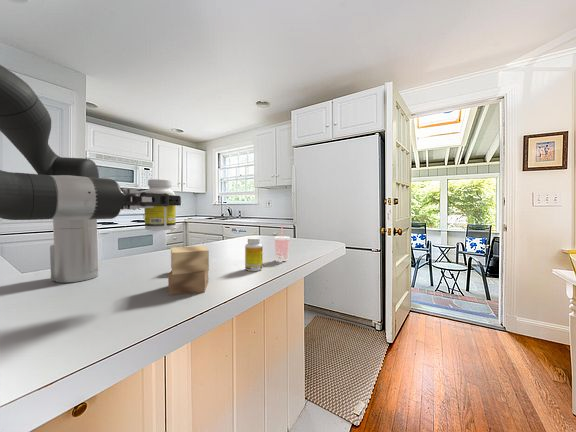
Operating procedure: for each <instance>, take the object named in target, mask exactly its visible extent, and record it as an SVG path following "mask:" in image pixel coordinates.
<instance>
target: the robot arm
mask: <svg viewBox="0 0 576 432" xmlns="http://www.w3.org/2000/svg"><path fill="white" fill-rule="evenodd" d="M51 130H52V117H51V115H50V113H49V111H48V109H47V108H46V106H45V105H44V103H43V102H42V101H41V99H40V98H39V97H38V96H37V94H36V93H35V91H34V90H33V88H32V87H31V86H30V85H29V84H28V83H27V82H26V81H24V80H23V79H22V78H20V77H19V76H18V75H16V74H15V73H14V72H13V71H10V70H9V69H8V68H6V67H4V66H3V65H1V64H0V133H2V134H3V135H4V136H5V137H6V138H7V139H8V140H9V142H10V143H11V144H12V145H13V146H14V147H15V148H16V149H17V150H18V151H19V152H20V154H21V155H22V156H23V157H24V158H25V159H26V161H27V162H28V163H29V165H30V166H31V167H32V168H33V170H34V171H35V173H25V172H10V171H5V170H1V169H0V219H2V220H7V221H8V220H10V221H35V220H36V221H38V220H41V221H43V220H44V221H45V220H52V225H53V226H52V227H53V228H52V229H53V230H52V231H53V244H51V245H50V246H49V256H50V257H49V259H50V262H49V263H50V281H51V282H53V281H54V282H56V283H62V284H63V283H74V282H77V283H78V282H82V281H87V280H91V279H94V278H96V277H98V276H99V253H98V220H112V219H115V218H117V217H118V216H119V214H120V212H121V210H138V209H145V208H153V207H154V206H162V207H167V206H169V205H171V206H175V207H176V206H179V207H180V206H181V205H182V197H181V196H180V195H175V196H174V195H169V194H167V193H164V194H156V193H153V192H151V191H147V190H145V191H144V190H137V189H133V188H132V189H128V188H127V189H121V186H120V184H119V183H118V182H117V181H116V180H115V179H112V178H101V177H100V175H99V169H98V167H97V164H96V163H95V161H93V159H90V158H83V157H64V156H63V157H61V156H59V155H58V154H56V153H55V152H54V150H53V149H52V148H51V146H50V145H49V140H50V139H49V138H50V134H51ZM159 197H160V202H159Z"/></svg>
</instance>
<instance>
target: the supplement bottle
mask: <svg viewBox="0 0 576 432" xmlns="http://www.w3.org/2000/svg"><path fill="white" fill-rule="evenodd" d="M263 249H264V248H263V244H262V243H261V238H260V237H248V238H247V243H246V244H245V246H244V266H245V267H244V268H245V270H246V271H247V270H248V271H247V272H259V271H262V269H263Z"/></svg>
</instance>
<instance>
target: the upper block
mask: <svg viewBox="0 0 576 432" xmlns="http://www.w3.org/2000/svg"><path fill="white" fill-rule="evenodd" d="M209 256H210V255H209V249H208V248H207V247H206V246H205V245H194V246H193V245H191V246H185V247H183V246H179V247H178V246H177V247H176V246H175V247H170V268H171V271H172V275H175V274H184V273H194V272H203V271H208V272H209V271H210V268H209V267H210V263H209V262H210V261H209V260H210V259H209Z"/></svg>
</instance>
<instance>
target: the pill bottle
mask: <svg viewBox="0 0 576 432" xmlns="http://www.w3.org/2000/svg"><path fill="white" fill-rule="evenodd" d="M172 184H173V183H172V180H169V179H156V178H155V179H153V178H151V179H147V186H148V187H149V188H148V189H147V190H146V191H151V192H153V193H156V194H164V193H167V194H169V195H174V196H176V193H175V192H174V190H172V189H171V188H172ZM159 202H160V197H159ZM144 229H145V230H146V231H172V230H174V229H176V206H171V205H169V206H167V207H162V206H154V207H153V208H144Z"/></svg>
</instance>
